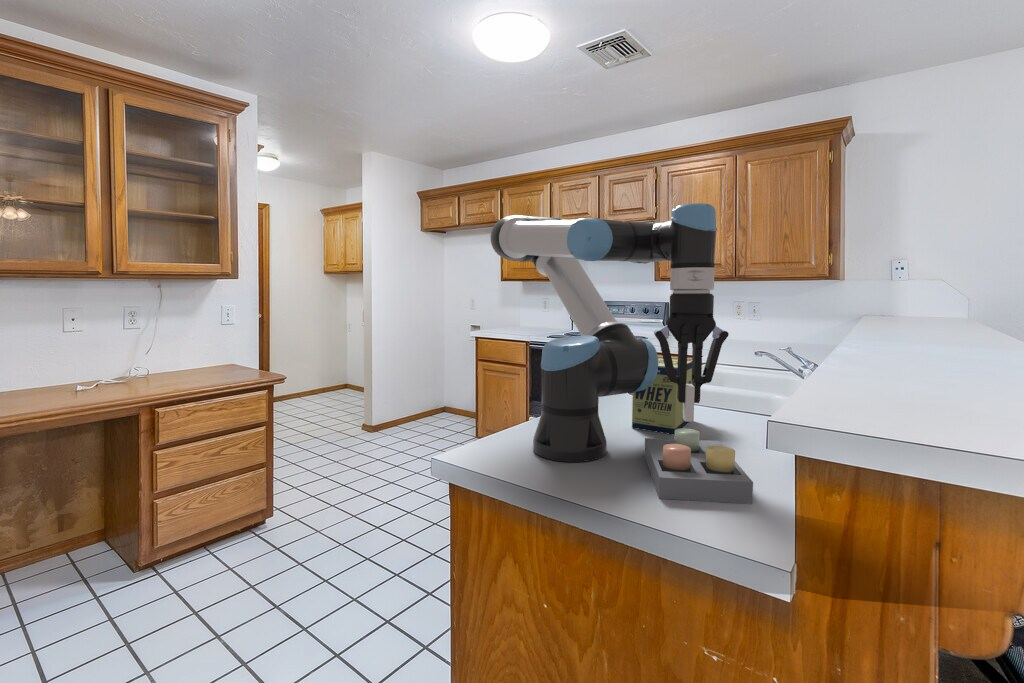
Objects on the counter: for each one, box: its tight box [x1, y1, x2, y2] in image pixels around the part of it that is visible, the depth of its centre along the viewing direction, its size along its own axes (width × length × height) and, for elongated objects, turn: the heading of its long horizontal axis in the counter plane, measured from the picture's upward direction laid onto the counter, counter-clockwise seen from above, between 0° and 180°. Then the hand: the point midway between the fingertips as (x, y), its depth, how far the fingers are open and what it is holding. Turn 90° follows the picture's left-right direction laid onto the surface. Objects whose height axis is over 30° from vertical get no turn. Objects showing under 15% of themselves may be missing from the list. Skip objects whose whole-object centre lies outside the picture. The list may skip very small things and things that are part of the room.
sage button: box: [673, 427, 700, 451], centre depth 93 cm, size 4×4×3 cm
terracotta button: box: [663, 444, 691, 470], centre depth 83 cm, size 4×4×3 cm
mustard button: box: [706, 445, 736, 472], centre depth 82 cm, size 4×4×3 cm
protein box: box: [631, 357, 692, 435], centre depth 122 cm, size 10×16×16 cm
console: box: [643, 437, 754, 505], centre depth 88 cm, size 14×21×4 cm, turn 171°
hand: (687, 419), depth 92 cm, fingers closed
